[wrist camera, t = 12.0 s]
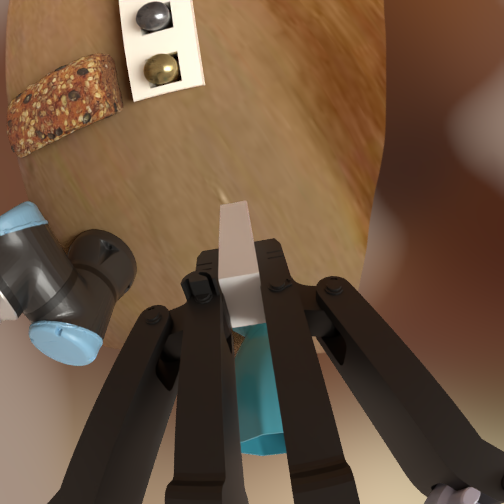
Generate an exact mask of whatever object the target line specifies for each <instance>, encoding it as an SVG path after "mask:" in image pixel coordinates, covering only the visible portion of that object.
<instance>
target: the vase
mask: <svg viewBox="0 0 504 504" xmlns="http://www.w3.org/2000/svg"><path fill="white" fill-rule="evenodd" d="M232 329H233V331H234V332H236V333H238V334H240V335H242V336H244V337H245V339H244V340H243V342H242V344H241V346H240V348H239V349H238V351H237V353H236V356H235V374H236V389H237V404H238V418H239V431H240V443H241V453H246V454H252V455H259V456H265V455H275V454H283V453H287V452H286V446H285V440H284V433H283V427H282V421H281V414H280V408H279V401H278V395H277V389H276V383H275V376H274V370H273V364H272V357H271V351H270V345H269V338H268V332H267V326H266V323H261V324H255V325H248V326H242V327H235V328H232Z"/></svg>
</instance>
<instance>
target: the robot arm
mask: <svg viewBox="0 0 504 504" xmlns="http://www.w3.org/2000/svg"><path fill="white" fill-rule="evenodd" d="M136 271H137V267H136V261H135V258H134V256H133V254H132V252H131V250H130V249H129V247H128V246H127V245H126V244H125V243H124V242H123V241H122V240H121V239H119V238H118V237H117V236H115V235H113V234H111V233H109V232H106V231H102V230H88V231H85V232H83V233H81V234H80V235H79V236H78V237H77V238H76V239H75V240H74V241H73V243H72V244H71V246H70V248H69V251H68V255H66V253H65V252H64V250H63V248H62V247H61V245H60V244H59V242H58V240H57V239H56V237H55V235H54V234H53V232H52V230H51V228H50V227H49V225H48V221H47V220H45V219H44V217H43V216H42V214H41V212H40V211H39V209H38V207H37V206H36V205H35V204H34V203H33V202H30V201H27V202H23V203H21V204H19V205H18V206H16V207H14V208H12V209H11V210H9V211H8V212H6V213H4V214H3V215H1V216H0V324H1V323H2V321H4V320H17V319H18V318H19V316H20V315H21V314H22V312H23V313H24V314H25V315H26V317H27V318H28V319H29V320H30V322H31V323H32V324H31V325H30V327H29V337H30V339H31V342H32V343H33V344H34V345H35V347H36V348H37V349H39V350H40V351H41V352H43V353H44V354H45V355H47V356H48V357H50V358H52V359H54V360H56V361H59V362H62V363H64V364H68V365H74V366H82V365H87V364H90V363H91V362H93V361H94V360H95V358H96V356H97V353H98V351H99V349H100V347H101V346H102V344H103V339H104V336H105V333H106V330H107V326H108V323H109V321H110V318H111V315H112V312H113V309H114V306H115V303H116V302H117V301H118V300H119V299H120V298H121V297H122V296H123V295H124V294H125V293H126V292H127V291H128V290H129V289H130V287H131V286H132V284H133V281H134V279H135V276H136ZM181 286H182V289H183V291H184V294H185V296H186V299H187V302H186V303H185V304H184V305H182V306H180V307H178V308H175V309H173V310H170V311H169V310H168V309H167V308H166V307H165V306H161V305H155V306H151V307H149V308H147V309H146V310H144V311H143V312H142V313H141V314H140V316H139V317H138V319H137V321H136V323H135V325H134V327H133V328H132V330H131V332H130V334H129V336H128V338H127V340H126V342H125V343H124V345H123V347H122V349H121V351H120V353H119V355H118V357H117V359H116V361H115V363H114V365H113V367H112V369H111V371H110V373H109V375H108V377H107V379H106V381H105V383H104V385H103V387H102V389H101V392H100V394H99V396H98V398H97V400H96V402H95V404H94V407H93V409H92V411H91V413H90V416H89V418H88V420H87V422H86V425H85V427H84V429H83V432H82V434H81V436H80V439H79V441H78V444H77V446H76V448H75V451H74V453H73V456H72V458H71V461H70V463H69V466H68V469H67V471H66V474H65V477H64V480H63V483H62V485H61V488H60V490H59V491H58V492H57V493H56V495H55V496H54V497H53V498H52V499H51V500H50V501H49V502H48V504H142V501H143V498H144V495H145V491H146V488H147V485H148V482H149V478H150V475H151V472H152V469H153V465H154V462H155V459H156V456H157V453H158V450H159V447H160V444H161V441H162V438H163V435H164V432H165V428H166V425H167V422H168V419H169V416H170V413H171V410H172V407H173V404H174V401H175V398H176V396H177V409H176V427H175V453H174V477H173V480H172V481H171V482H170V483H169V484H168V485H167V488H166V492H165V504H249V503H248V498H247V495H246V492H245V488H244V478H243V467H242V455H241V443H240V431H239V418H238V404H237V389H236V374H235V358H234V341H233V335H232V332H231V325H232V328H235V327H242V326H248V325H255V324H261V323H266V326H267V332H268V338H269V345H270V351H271V357H272V364H273V370H274V376H275V383H276V389H277V395H278V401H279V408H280V414H281V421H282V427H283V433H284V440H285V446H286V452H287V459H288V465H289V472H290V479H291V485H292V492H293V498H294V504H360V501H359V497H358V493H357V489H356V484H355V480H354V476H353V473H352V470H351V468H350V466H349V465H348V464H347V462H346V460H345V458H344V454H343V450H342V446H341V442H340V438H339V434H338V431H337V427H336V423H335V419H334V415H333V411H332V408H331V404H330V401H329V396H328V393H327V389H326V386H325V382H324V378H323V375H322V371H321V367H320V364H319V360H318V357H317V353H316V350H315V346H314V343H313V340H312V336H316V338H317V340H318V341H319V343H320V344H321V346H322V347H323V349H324V350H325V352H326V354H327V355H328V356H329V358H330V360H331V361H332V363H333V364H334V366H335V367H336V369H337V370H338V372H339V373H340V375H341V376H342V378H343V379H344V381H345V382H346V384H347V385H348V387H349V388H350V390H351V391H352V393H353V394H354V396H355V397H356V399H357V401H358V402H359V403H360V405H361V407H362V408H363V410H364V411H365V413H366V414H367V416H368V417H369V419H370V420H371V422H372V423H373V425H374V426H375V428H376V430H377V431H378V433H379V434H380V436H381V437H382V439H383V440H384V442H385V443H386V445H387V446H388V448H389V449H390V451H391V453H392V454H393V456H394V457H395V458H396V460H397V462H398V463H399V465H400V466H401V468H402V470H403V471H404V472H405V474H406V476H407V477H408V478H409V480H410V481H411V482H412V483H413V485H414V486H415V487H416V488H417V489H418V490H419V491H420V492H421V493H422V494H424V495H425V496H427V497H428V498H427V499H426V501H425V503H424V504H501V503H504V452H503V451H502V450H500V449H498V448H496V447H494V446H493V445H491V444H489V443H488V442H486V441H484V440H483V439H481V437H480V436H479V435H478V433H477V432H476V431H475V429H474V428H473V427H472V425H471V424H470V423H469V421H468V420H467V419H466V417H465V416H464V415H463V413H462V412H461V411H460V410H459V408H458V407H457V406H456V404H455V403H454V402H453V401H452V399H451V398H450V397H449V396H448V394H446V392H445V391H444V389H443V388H442V387H441V386H440V384H439V383H438V382H437V381H436V380H435V378H434V377H433V376H432V375H431V374H430V372H429V371H428V370H427V369H426V368H425V366H424V365H423V364H422V363H421V362H420V360H419V359H418V358H417V357H416V356H415V355H414V353H412V351H411V350H410V349H409V348H408V347H407V345H406V344H405V343H404V342H403V341H402V340H401V338H400V337H399V336H398V335H397V334H396V333H395V332H394V331H393V329H392V328H391V327H390V326H389V325H388V324H387V323H386V322H385V321H384V319H382V317H381V316H380V315H379V314H378V313H377V312H376V311H375V310H374V308H373V307H372V306H371V305H370V304H369V303H368V302H367V301H366V300H365V299H364V298H363V297H362V296H361V294H360V293H359V292H358V291H357V290H356V289H355V288H354V287H353V286H352V285H351V284H350V283H349V282H348V281H347V280H345V279H344V278H341V277H337V276H330V277H326V278H323V279H322V280H320V281H319V282H318V284H317V286H307V285H302V284H299V283H297V282H295V281H294V280H293V278H291V276H290V272H289V269H288V266H287V263H286V260H285V257H284V253H283V251H282V247H281V244H280V243H279V242H278V241H277V240H276V239H274V238H273V239H267V240H261V241H255V242H254V240H253V234H252V229H251V223H250V217H249V211H248V205H247V201H242V202H236V203H230V204H225V205H220V228H219V249H213V250H207V251H202V252H201V254H200V255H199V256H198V258H197V264H196V271H194V272H191V273H190V274H188V275H186V276H185V277H184V278H183V279H182V282H181ZM177 393H178V394H177Z"/></svg>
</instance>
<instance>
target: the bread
mask: <svg viewBox="0 0 504 504" xmlns="http://www.w3.org/2000/svg"><path fill="white" fill-rule="evenodd" d="M121 98H122V97H121V92H120V89H119V87H118V81H117V72H116V68H115V63H114V60H113V58H112V57H111V56H110V55H108V54H105V55H104V54H102V53H97V54H92V55H90V56H86V57H82V58H80V59H79V60H75V61H73V62H71V63H70V64H68V65H65V66H61V67H59V68H58V69H56V70H55V71H54V72H51V73H49V74H48V75H46V76H45V77H44V78H42V79H41V80H40V81H39V82H36V83H35V84H33V85H30V86H28V87H27V89H26V90H25V92H23V93H21V94H20V95H19V96H17V97H16V98H14V99H13V101H12V102H11V104H10V105H9V106H8V112H7V128H8V130H7V134H8V138H9V141H10V144H11V148H12V150H13V152H16V154H17V156H18V157H21V158H23V157H25V156H27V155H28V154H30V153H32V152H34V151H35V150H37V149H40V148H42V147H44V146H45V145H48V144H50V143H52V142H54V141H56V140H59V139H60V138H62V137H64V136H66V135H68V134H70V133H72V132H73V131H76V130H77V129H80V128H83V127H85V126H88V125H90V124H92V123H93V122H96V121H99V120H102V119H104V118H107V117H110V116H112V115H114V114H116V113H117V112H120V111H121V110H122V109H123V102H122V100H121Z"/></svg>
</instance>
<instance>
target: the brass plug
mask: <svg viewBox="0 0 504 504" xmlns="http://www.w3.org/2000/svg"><path fill="white" fill-rule="evenodd" d="M143 72H144V76H145V78H146V79H147V80H148V81H149V82H150V83H153V84H164V83H172V82H174V81H176V80H177V79H178V78H179V77H180V75H181V71H180V65H179V62H178V61H176V60H175V59H174V58H173V57H171V56H170V55H168V54H162V53H161V54H156V55H154V56H152V57H151V58H149V59H148V60H147V62H146V63H145V66H144V71H143Z"/></svg>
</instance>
